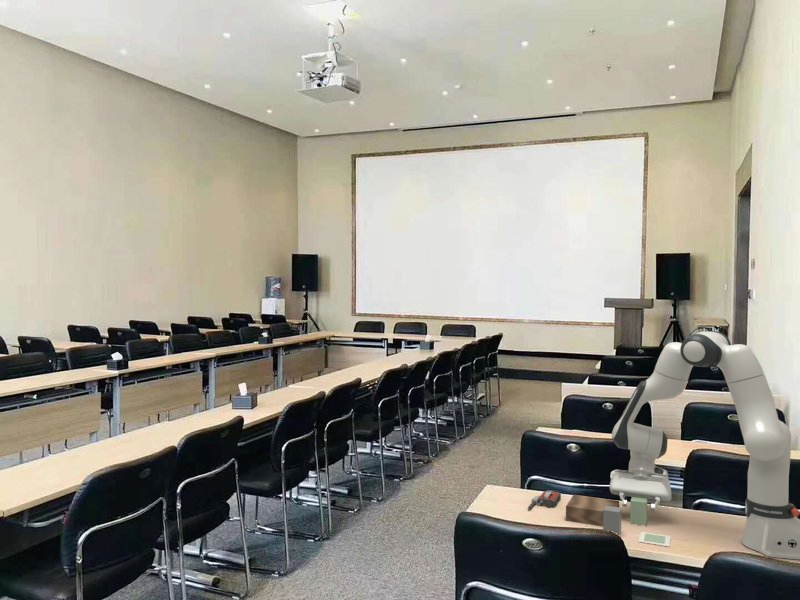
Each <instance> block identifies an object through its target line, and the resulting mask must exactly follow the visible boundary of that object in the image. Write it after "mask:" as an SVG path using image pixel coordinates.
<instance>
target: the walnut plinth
mask: <svg viewBox="0 0 800 600" xmlns="http://www.w3.org/2000/svg"><path fill="white" fill-rule="evenodd" d="M605 506H613V507H620V500H615V499H610V498H608V499H607V498H600V497H596V496H595V497H593V496H588V495H579V494H573V495H572V496H571V498H570V500H568V502H567V503H566V505H565V521H568V522H574V523H580V524H587V525H593V526H600V527H603V510H604V508H605Z"/></svg>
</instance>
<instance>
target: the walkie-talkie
mask: <svg viewBox="0 0 800 600" xmlns="http://www.w3.org/2000/svg"><path fill="white" fill-rule="evenodd" d="M561 498H562V494H561V492H559V491H555V490H545V491H543V492H542V493H541V495H535V496H534V497H533V498H531V503H530V504H529V505H528V507H527V510H531V509H532V508H533V507H534V506H535V505H536V506H537V507H545V508H553V509H555V508H556V506H557V505H558V504H559V502H560V501H561V500H562V499H561Z"/></svg>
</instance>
